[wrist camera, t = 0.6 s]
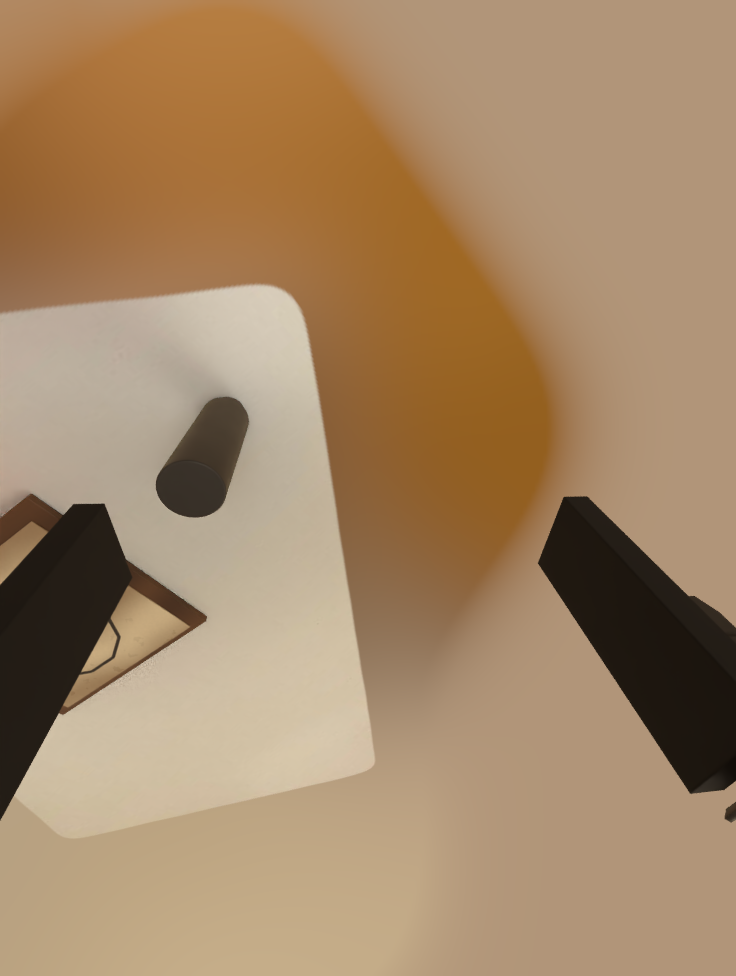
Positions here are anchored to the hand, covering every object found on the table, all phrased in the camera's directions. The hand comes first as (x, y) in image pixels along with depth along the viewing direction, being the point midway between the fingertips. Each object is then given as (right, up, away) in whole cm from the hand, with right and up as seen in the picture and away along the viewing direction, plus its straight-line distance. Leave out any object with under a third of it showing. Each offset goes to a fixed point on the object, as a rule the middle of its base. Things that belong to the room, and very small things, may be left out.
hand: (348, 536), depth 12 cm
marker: (-10, +7, +18) cm, 21 cm away
